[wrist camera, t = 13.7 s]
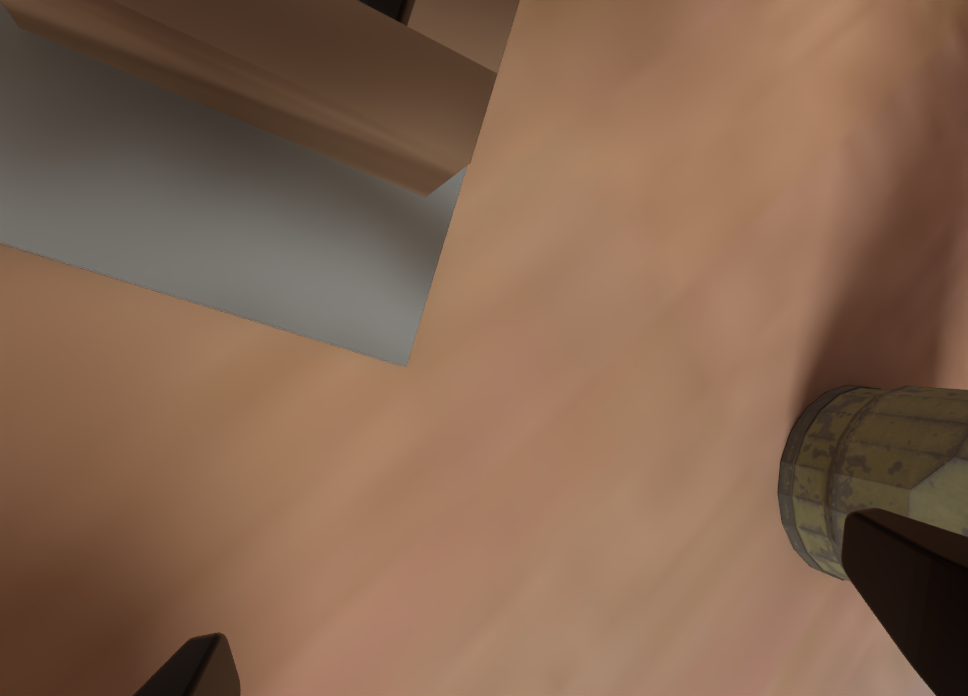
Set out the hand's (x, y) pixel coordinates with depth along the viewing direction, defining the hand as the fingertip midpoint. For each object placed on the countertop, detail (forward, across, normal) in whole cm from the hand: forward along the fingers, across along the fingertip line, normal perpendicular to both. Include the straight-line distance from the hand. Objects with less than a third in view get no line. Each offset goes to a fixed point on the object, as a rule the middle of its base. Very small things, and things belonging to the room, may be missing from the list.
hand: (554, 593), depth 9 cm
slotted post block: (+15, +3, -12) cm, 19 cm away
